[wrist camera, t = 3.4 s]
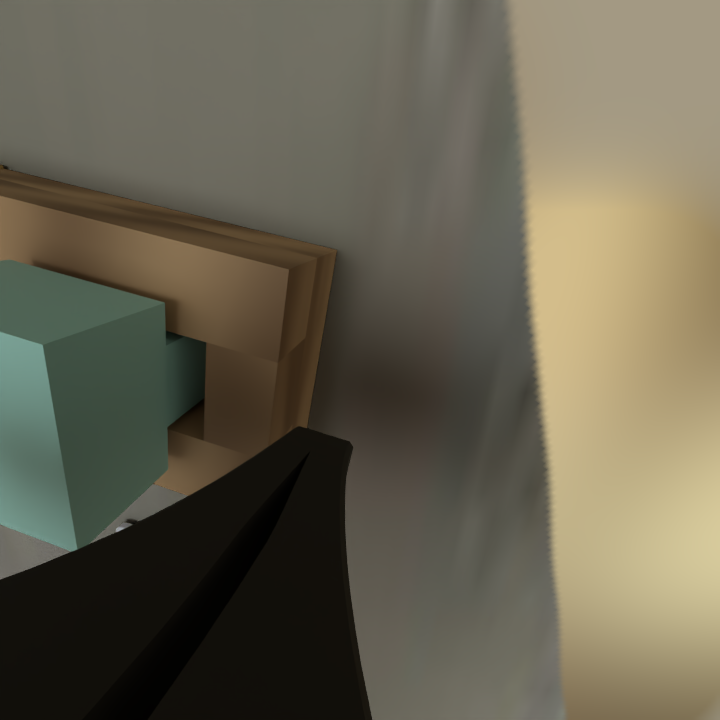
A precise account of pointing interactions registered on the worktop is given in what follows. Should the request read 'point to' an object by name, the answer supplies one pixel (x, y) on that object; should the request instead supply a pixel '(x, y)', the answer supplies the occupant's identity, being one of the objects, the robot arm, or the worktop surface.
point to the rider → (84, 401)
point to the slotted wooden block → (192, 307)
